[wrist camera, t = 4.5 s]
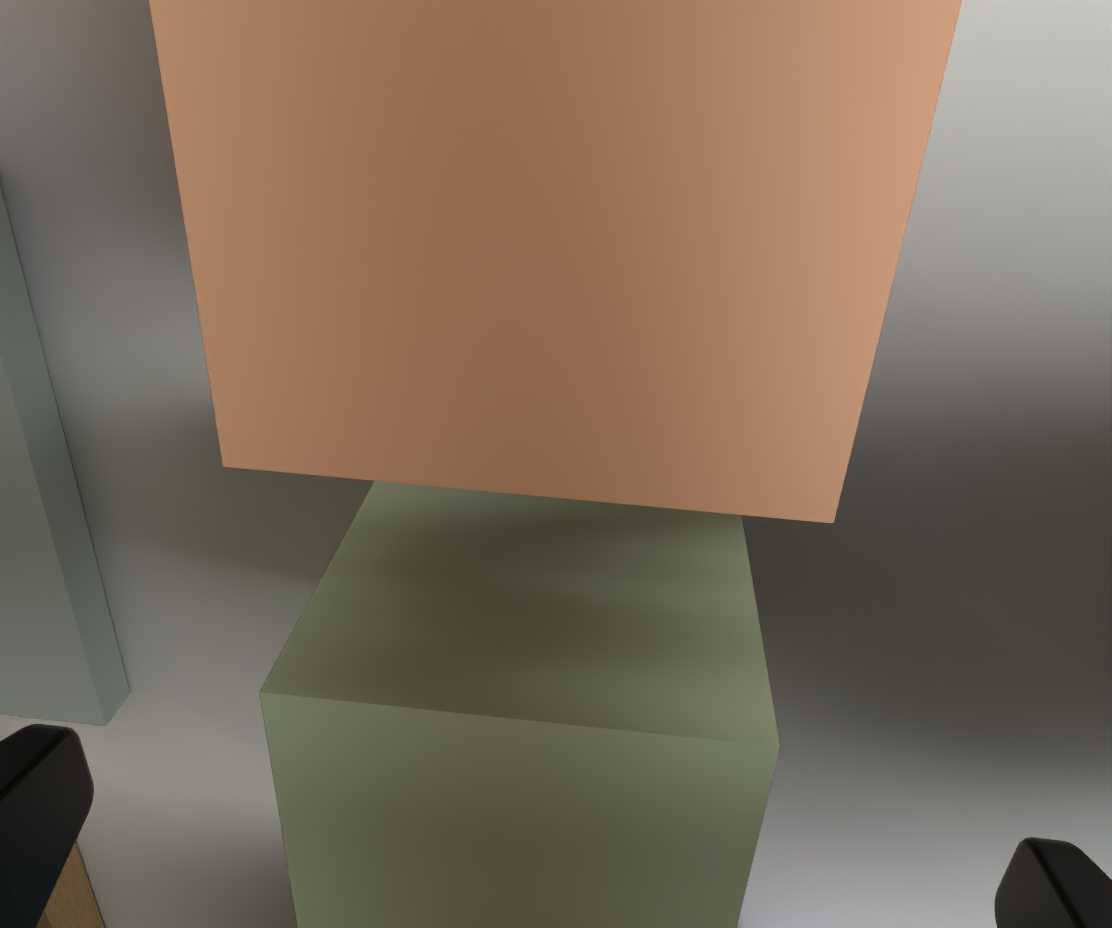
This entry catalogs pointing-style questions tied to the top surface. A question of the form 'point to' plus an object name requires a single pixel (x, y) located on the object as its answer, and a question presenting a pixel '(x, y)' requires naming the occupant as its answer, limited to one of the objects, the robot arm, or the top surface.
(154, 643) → the top surface
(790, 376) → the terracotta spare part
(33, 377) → the pad
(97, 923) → the mounted unit
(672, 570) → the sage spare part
